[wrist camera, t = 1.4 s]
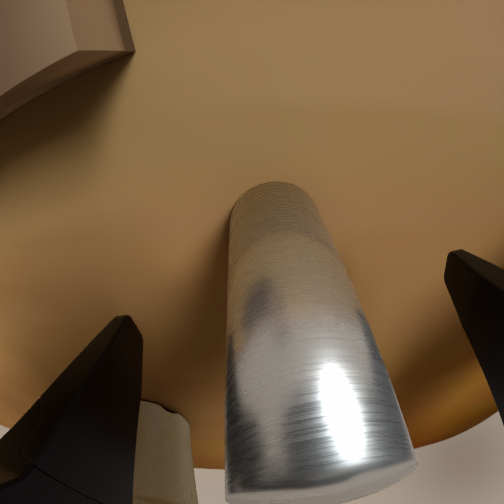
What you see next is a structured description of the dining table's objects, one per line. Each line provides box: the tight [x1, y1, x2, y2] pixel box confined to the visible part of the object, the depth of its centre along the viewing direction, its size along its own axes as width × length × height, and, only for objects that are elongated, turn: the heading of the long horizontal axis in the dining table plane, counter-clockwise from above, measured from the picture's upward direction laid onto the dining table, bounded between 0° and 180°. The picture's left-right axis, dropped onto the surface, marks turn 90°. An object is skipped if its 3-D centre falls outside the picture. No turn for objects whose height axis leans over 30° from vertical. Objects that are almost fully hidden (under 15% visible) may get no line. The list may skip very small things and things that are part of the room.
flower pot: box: [133, 401, 198, 504], centre depth 16 cm, size 9×9×9 cm
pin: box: [225, 182, 418, 504], centre depth 8 cm, size 3×3×9 cm
